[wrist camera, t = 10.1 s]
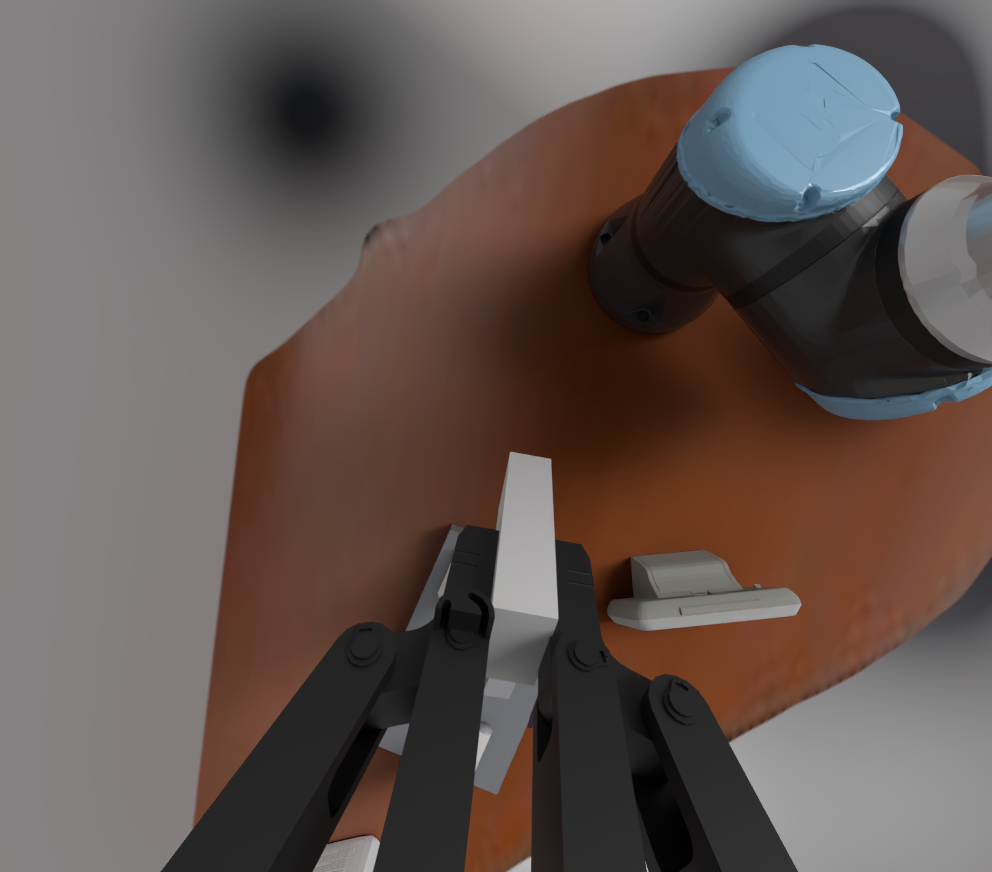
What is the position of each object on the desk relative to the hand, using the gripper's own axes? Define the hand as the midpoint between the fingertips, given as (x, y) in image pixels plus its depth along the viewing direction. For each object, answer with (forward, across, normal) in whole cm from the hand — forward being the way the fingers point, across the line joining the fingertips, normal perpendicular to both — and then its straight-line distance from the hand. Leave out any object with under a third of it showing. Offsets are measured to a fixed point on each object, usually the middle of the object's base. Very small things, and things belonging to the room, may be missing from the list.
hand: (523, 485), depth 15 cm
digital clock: (+22, +22, -27) cm, 41 cm away
